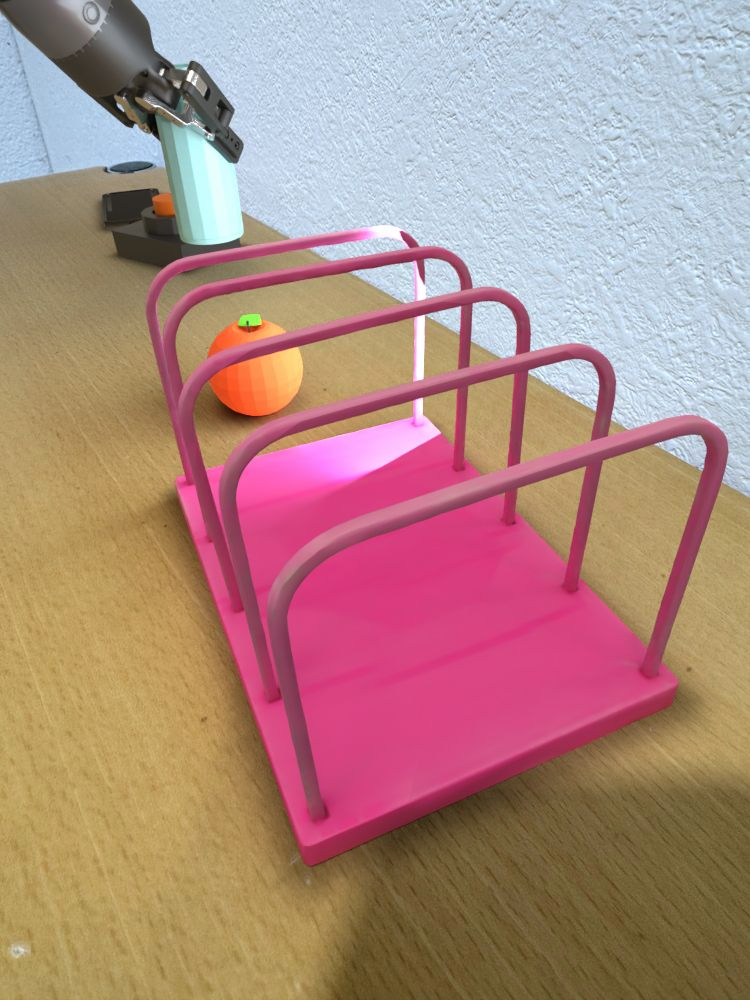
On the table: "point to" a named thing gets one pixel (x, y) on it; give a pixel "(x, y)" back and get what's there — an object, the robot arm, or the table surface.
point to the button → (163, 204)
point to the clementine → (256, 370)
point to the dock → (159, 241)
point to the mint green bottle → (199, 184)
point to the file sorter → (409, 571)
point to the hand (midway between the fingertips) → (210, 151)
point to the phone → (125, 206)
